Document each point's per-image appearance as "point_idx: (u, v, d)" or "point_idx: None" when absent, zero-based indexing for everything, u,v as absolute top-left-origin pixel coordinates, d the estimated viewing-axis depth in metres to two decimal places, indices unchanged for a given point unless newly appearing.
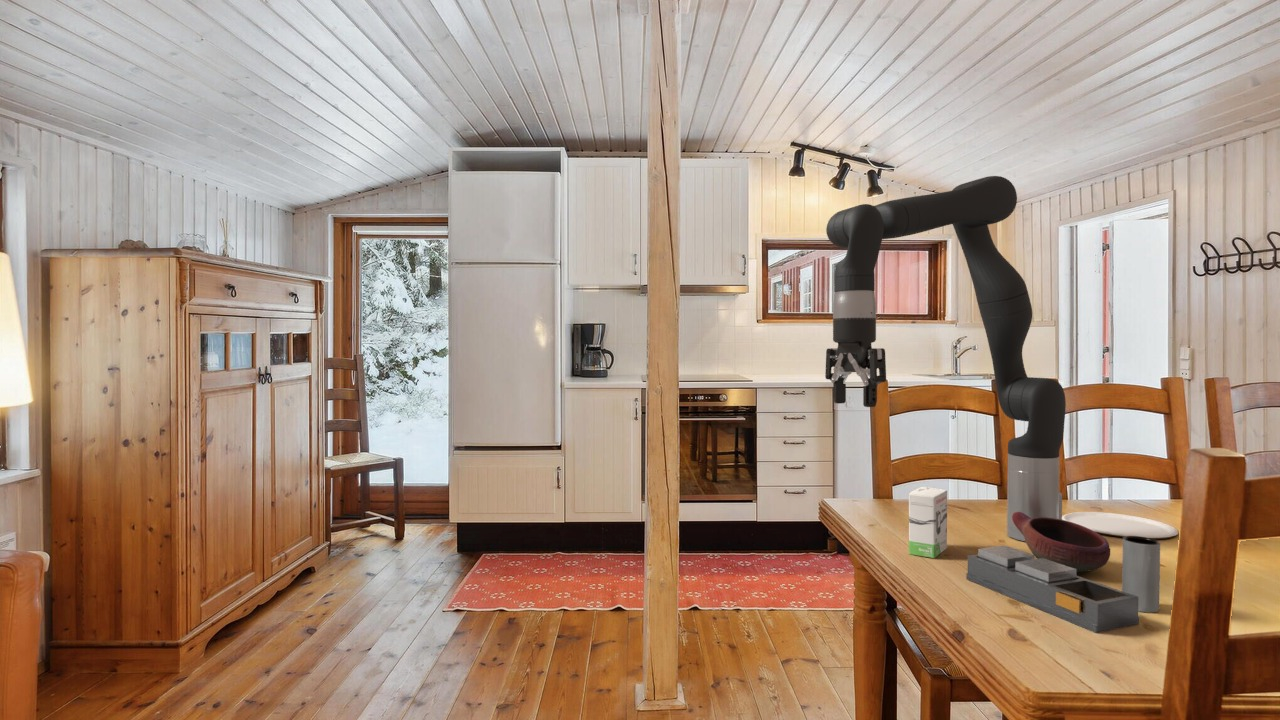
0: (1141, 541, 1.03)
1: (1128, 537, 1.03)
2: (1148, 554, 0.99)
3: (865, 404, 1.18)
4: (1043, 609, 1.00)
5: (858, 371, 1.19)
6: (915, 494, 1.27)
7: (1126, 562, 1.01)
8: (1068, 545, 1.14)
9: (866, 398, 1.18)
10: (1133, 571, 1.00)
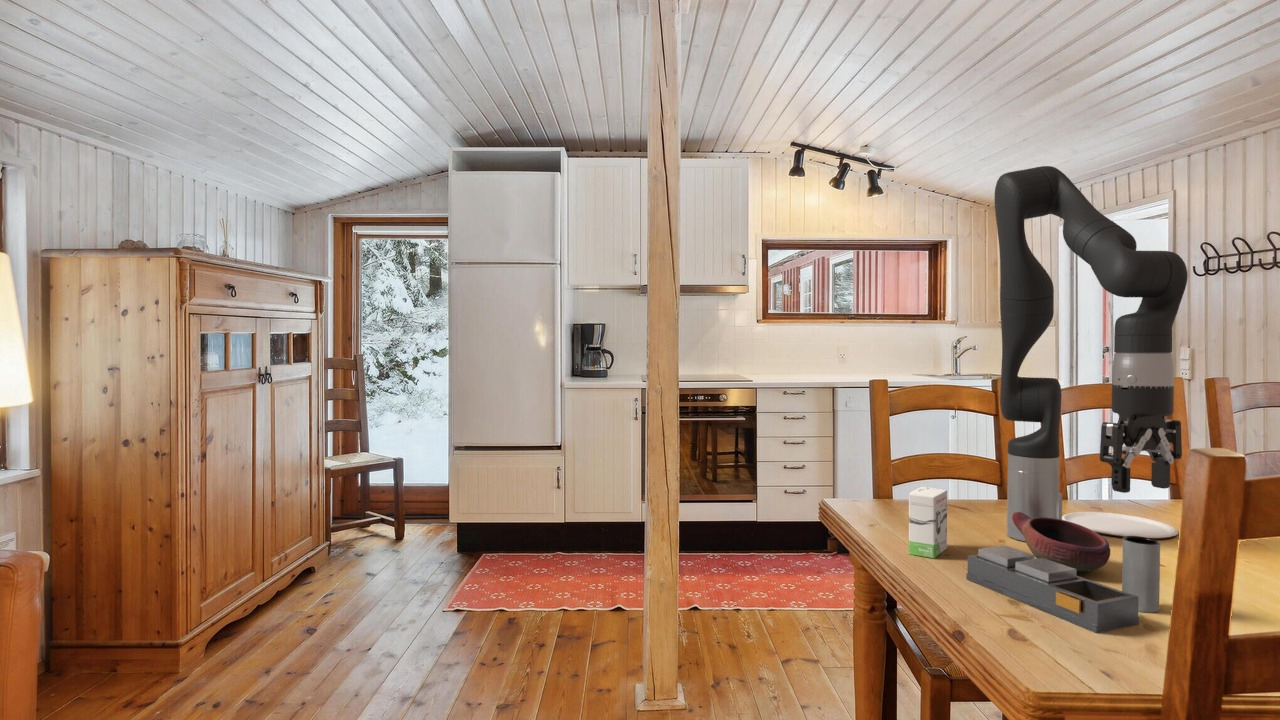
0: (1141, 541, 1.03)
1: (1128, 537, 1.03)
2: (1148, 554, 0.99)
3: (1168, 485, 1.02)
4: (1043, 609, 1.00)
5: (1168, 448, 1.01)
6: (915, 494, 1.27)
7: (1126, 562, 1.01)
8: (1068, 545, 1.14)
9: None
10: (1133, 571, 1.00)
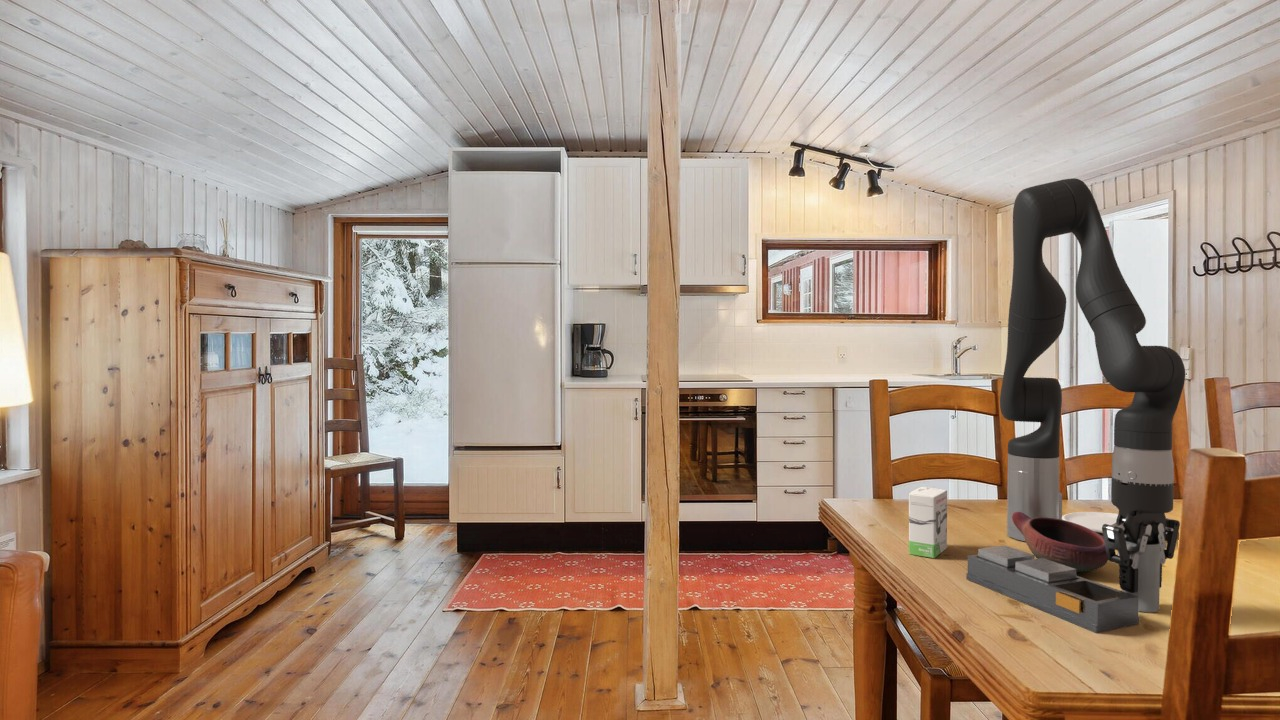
0: None
1: None
2: (1148, 554, 0.99)
3: (1160, 586, 1.01)
4: (1043, 609, 1.00)
5: (1163, 547, 1.00)
6: (915, 494, 1.27)
7: None
8: (1068, 545, 1.14)
9: (1160, 578, 1.01)
10: None
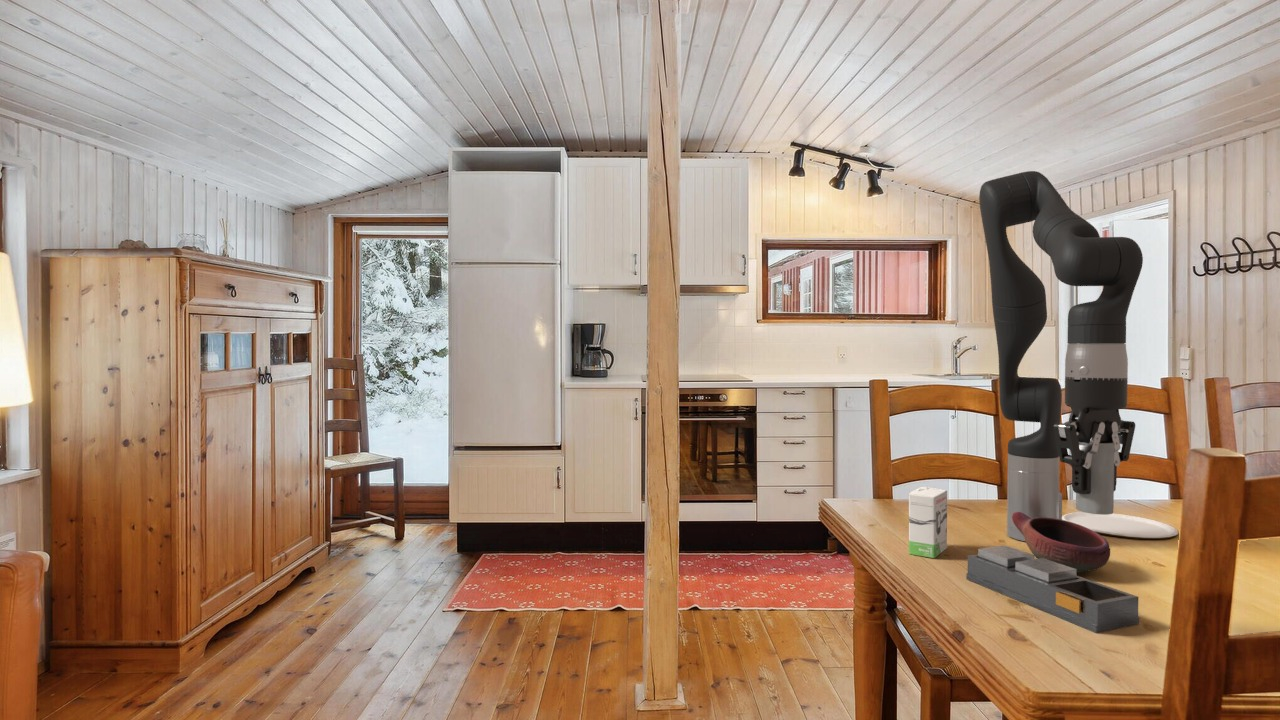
0: None
1: None
2: (1101, 453, 0.95)
3: (1114, 489, 0.97)
4: (1043, 609, 1.00)
5: (1117, 447, 0.96)
6: (915, 494, 1.27)
7: None
8: (1068, 545, 1.14)
9: None
10: None
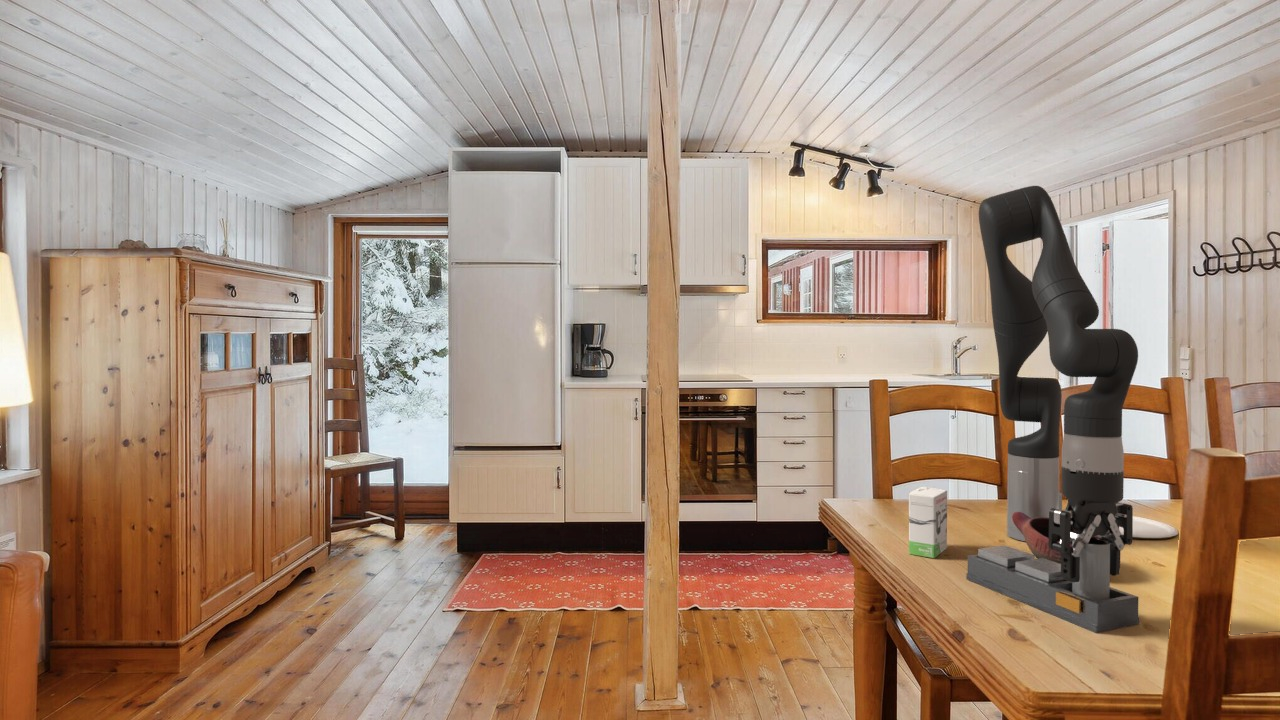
0: (1092, 541, 0.99)
1: None
2: (1096, 555, 0.95)
3: (1118, 572, 0.98)
4: (1043, 609, 1.00)
5: (1118, 534, 0.97)
6: (915, 494, 1.27)
7: None
8: None
9: None
10: (1082, 572, 0.96)
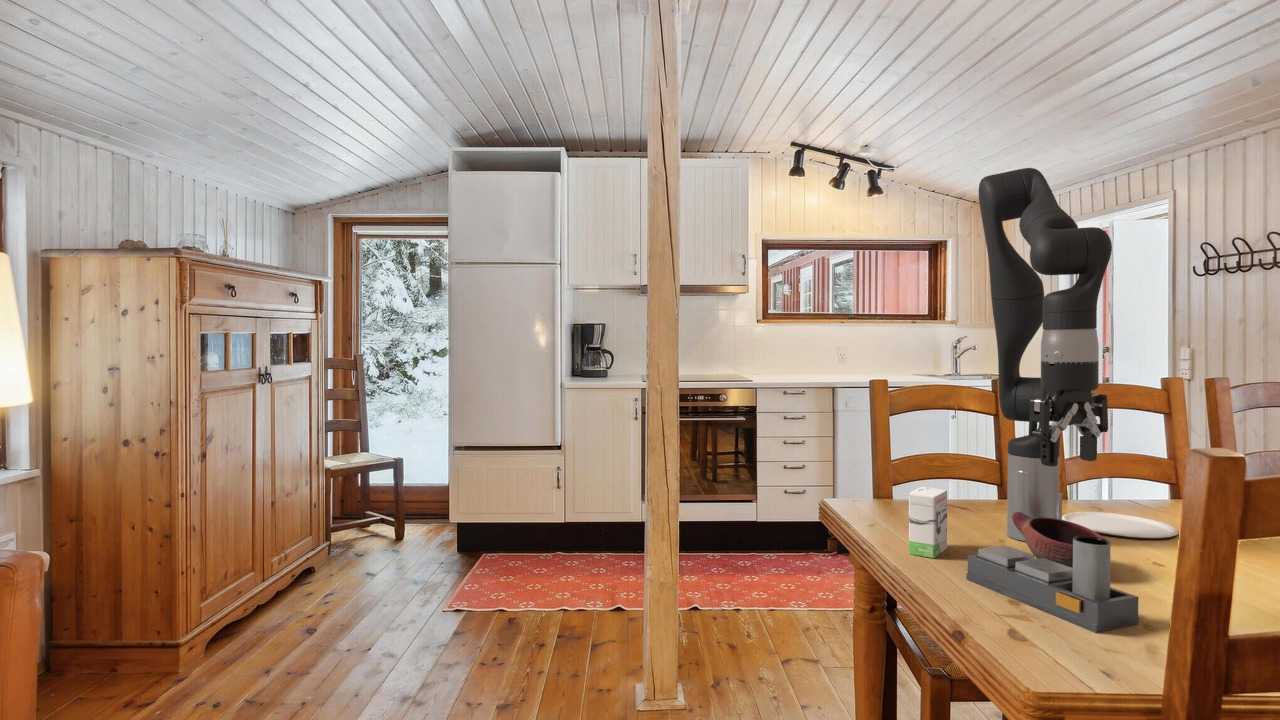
0: (1092, 541, 0.99)
1: (1079, 537, 0.99)
2: (1097, 555, 0.95)
3: (1095, 458, 1.04)
4: (1043, 609, 1.00)
5: (1094, 422, 1.03)
6: (915, 494, 1.27)
7: (1076, 563, 0.97)
8: (1068, 545, 1.14)
9: None
10: (1083, 572, 0.96)
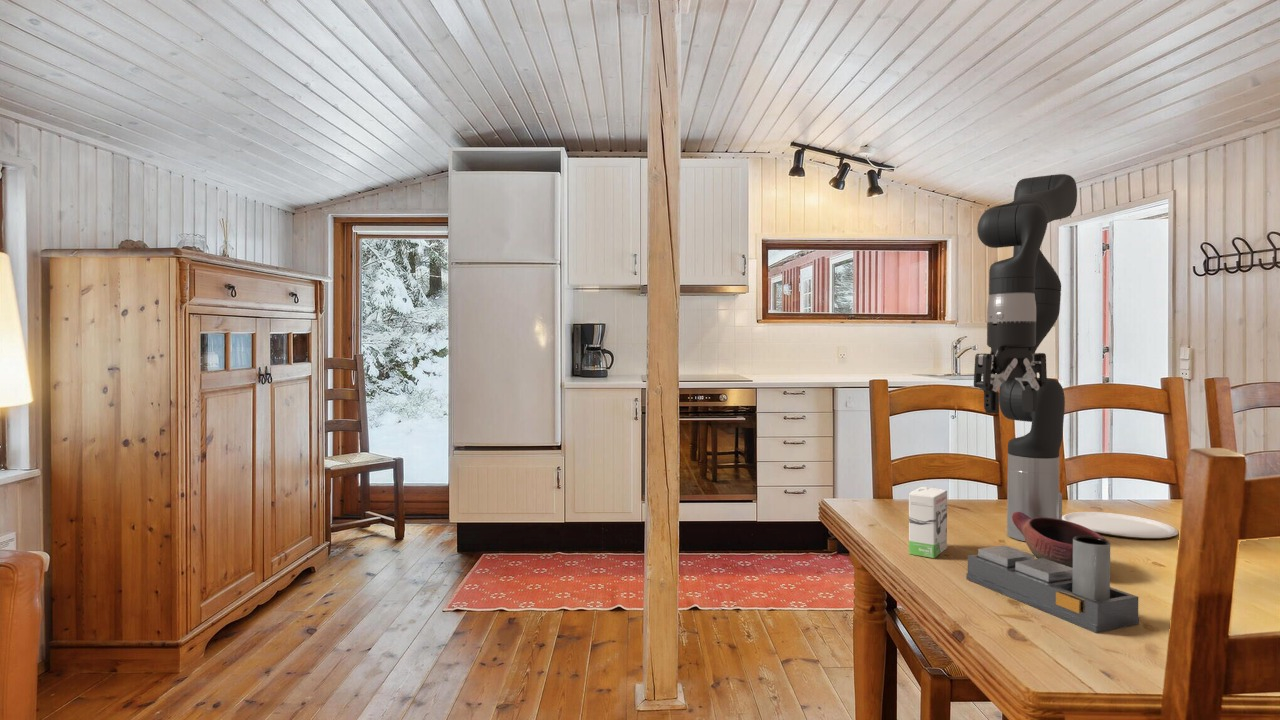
0: (1092, 541, 0.99)
1: (1079, 537, 0.99)
2: (1097, 555, 0.95)
3: (1034, 409, 1.18)
4: (1043, 609, 1.00)
5: (1033, 376, 1.17)
6: (915, 494, 1.27)
7: (1076, 563, 0.97)
8: (1068, 545, 1.14)
9: None
10: (1082, 572, 0.96)
